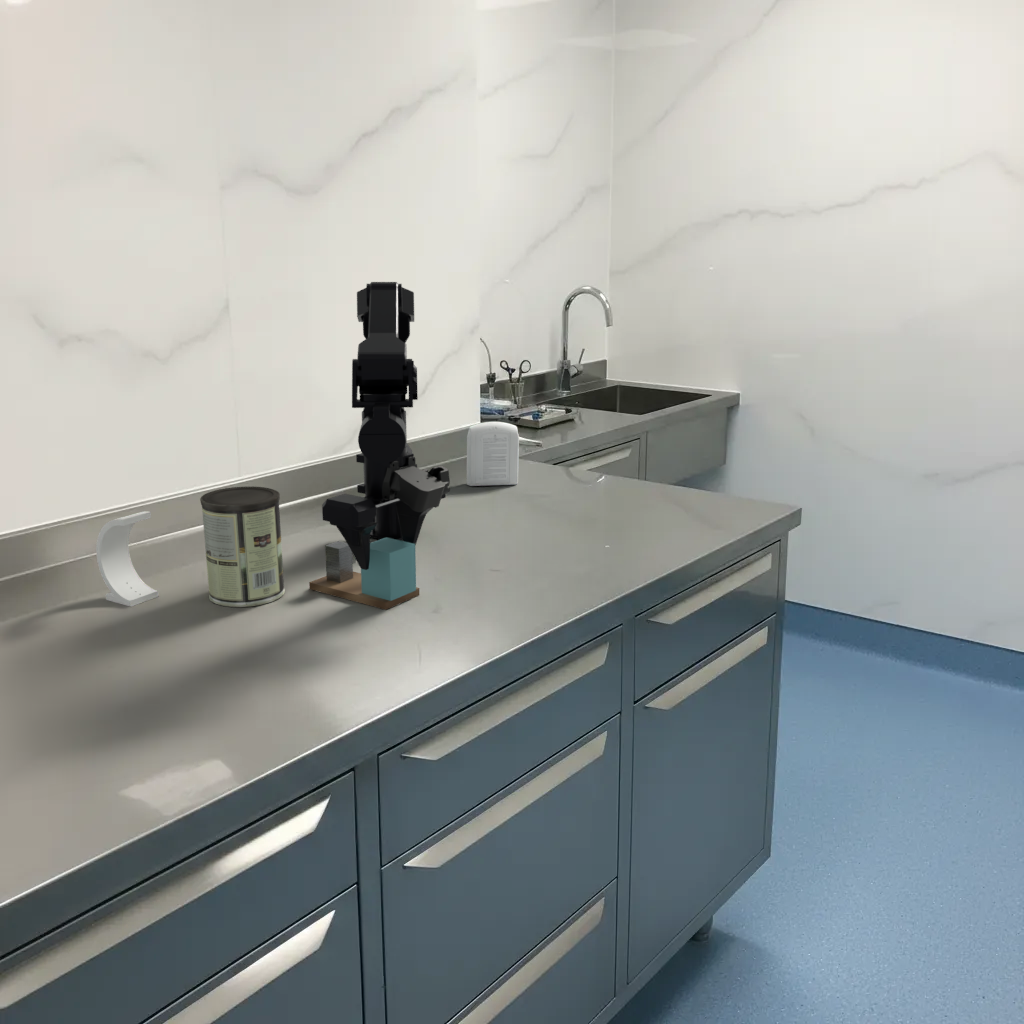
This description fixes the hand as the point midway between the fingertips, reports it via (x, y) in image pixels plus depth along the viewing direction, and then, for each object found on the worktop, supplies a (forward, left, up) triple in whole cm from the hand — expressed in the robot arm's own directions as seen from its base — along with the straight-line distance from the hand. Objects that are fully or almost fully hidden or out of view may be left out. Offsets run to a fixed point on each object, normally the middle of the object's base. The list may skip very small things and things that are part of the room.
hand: (387, 560), depth 141 cm
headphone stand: (-29, -20, -6) cm, 36 cm away
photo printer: (-26, +61, -6) cm, 67 cm away
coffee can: (-17, -10, -6) cm, 21 cm away
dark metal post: (-9, 0, -6) cm, 11 cm away
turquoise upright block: (0, 0, -4) cm, 5 cm away
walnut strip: (-5, 0, -6) cm, 7 cm away
